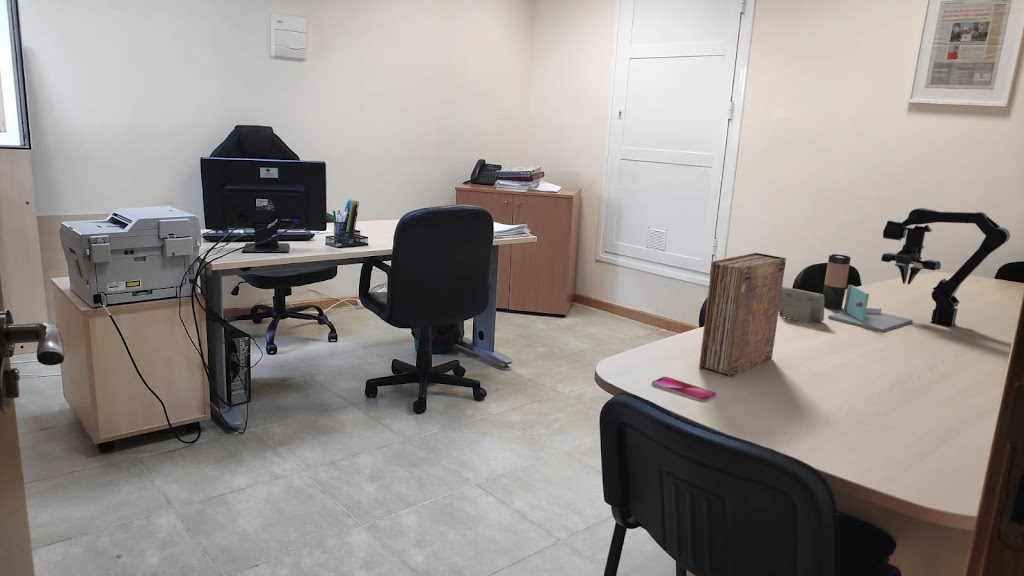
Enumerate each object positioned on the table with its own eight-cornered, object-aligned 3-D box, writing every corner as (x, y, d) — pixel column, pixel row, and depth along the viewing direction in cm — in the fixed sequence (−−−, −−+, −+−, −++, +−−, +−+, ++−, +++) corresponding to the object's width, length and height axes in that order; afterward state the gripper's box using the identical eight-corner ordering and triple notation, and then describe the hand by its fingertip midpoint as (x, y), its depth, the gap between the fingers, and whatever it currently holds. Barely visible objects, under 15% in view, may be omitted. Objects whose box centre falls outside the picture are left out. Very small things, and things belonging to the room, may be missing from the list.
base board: (912, 322, 253) (913, 314, 252) (881, 332, 238) (883, 323, 237) (858, 309, 267) (860, 302, 267) (826, 318, 253) (828, 310, 252)
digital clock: (826, 322, 246) (830, 293, 244) (812, 326, 241) (816, 296, 239) (784, 311, 259) (788, 283, 256) (770, 314, 254) (774, 286, 251)
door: (839, 310, 259) (844, 284, 256) (848, 311, 258) (852, 284, 256) (856, 321, 245) (861, 293, 242) (865, 321, 245) (870, 294, 242)
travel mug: (846, 310, 266) (854, 258, 261) (825, 309, 266) (834, 257, 261) (837, 305, 273) (845, 254, 268) (817, 304, 273) (825, 253, 268)
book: (729, 378, 186) (743, 267, 179) (698, 368, 192) (711, 261, 185) (772, 358, 204) (786, 257, 197) (742, 350, 210) (755, 252, 203)
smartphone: (704, 400, 168) (650, 382, 178) (703, 404, 168) (649, 386, 178) (718, 393, 174) (664, 375, 183) (717, 396, 174) (664, 379, 183)
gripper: (878, 239, 258) (870, 281, 262) (932, 248, 244) (923, 292, 247) (891, 238, 265) (884, 278, 268) (945, 246, 251) (936, 288, 254)
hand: (906, 284), depth 259 cm, fingers closed
